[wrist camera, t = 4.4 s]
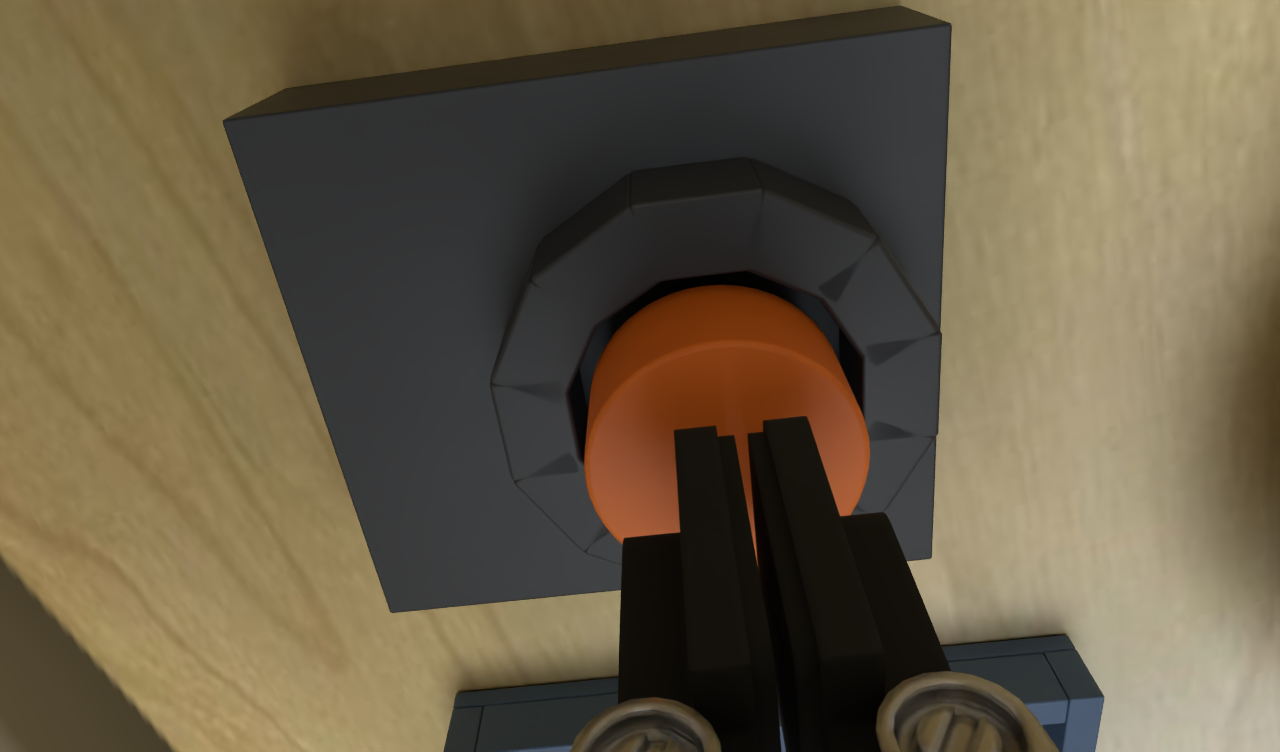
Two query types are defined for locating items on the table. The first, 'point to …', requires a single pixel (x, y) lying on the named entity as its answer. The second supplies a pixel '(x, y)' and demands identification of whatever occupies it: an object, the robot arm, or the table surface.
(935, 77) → the push button box
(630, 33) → the table surface
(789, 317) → the orange push button
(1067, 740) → the tray
